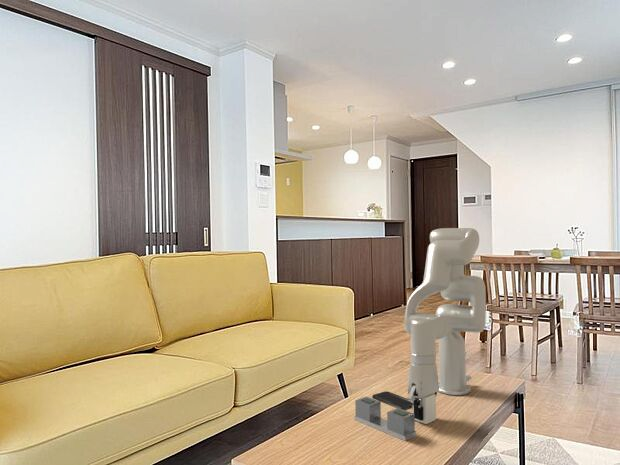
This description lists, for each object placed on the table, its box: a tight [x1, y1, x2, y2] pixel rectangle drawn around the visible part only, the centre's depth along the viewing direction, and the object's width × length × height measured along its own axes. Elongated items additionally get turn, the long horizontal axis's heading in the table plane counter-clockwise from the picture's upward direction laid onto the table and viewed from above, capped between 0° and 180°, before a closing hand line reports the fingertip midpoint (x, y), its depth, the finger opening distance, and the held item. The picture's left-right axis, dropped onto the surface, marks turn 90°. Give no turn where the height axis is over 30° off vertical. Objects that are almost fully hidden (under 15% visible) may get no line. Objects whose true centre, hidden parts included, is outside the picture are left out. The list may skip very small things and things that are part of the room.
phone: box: [371, 391, 413, 411], centre depth 161 cm, size 8×1×15 cm
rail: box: [354, 396, 417, 442], centre depth 140 cm, size 5×20×6 cm, turn 40°
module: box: [412, 394, 437, 425], centre depth 145 cm, size 5×5×8 cm
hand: (424, 416), depth 145 cm, fingers closed on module, 5 cm apart
